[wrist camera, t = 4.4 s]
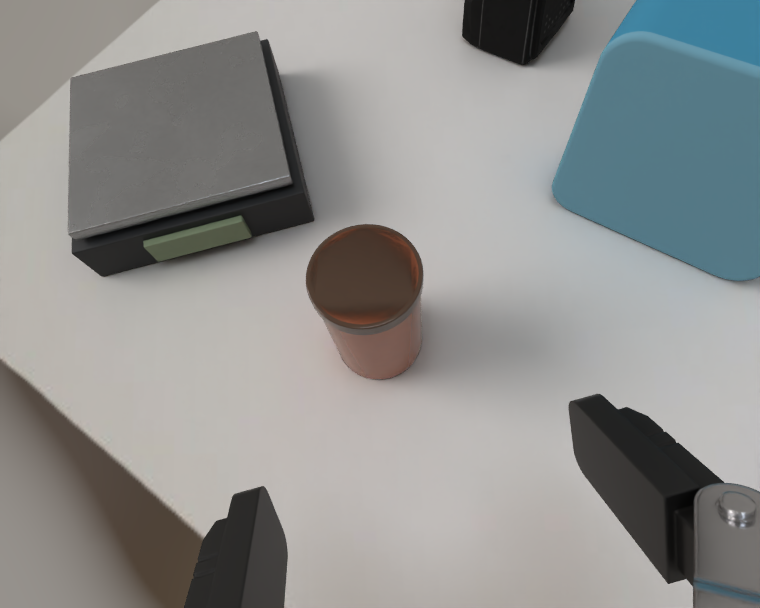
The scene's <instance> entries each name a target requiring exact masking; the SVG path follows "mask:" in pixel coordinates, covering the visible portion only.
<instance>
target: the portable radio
mask: <svg viewBox="0 0 760 608" xmlns="http://www.w3.org/2000/svg"><path fill="white" fill-rule="evenodd" d="M574 3H575V0H465V3H464V16H463V29H462V36H463V37H464V38H465V39H466V40H467V41H468V42H469V43H470V44H472V45H474V46H476V47H478V48H480V49H483V50H485V51H488V52H490V53H493V54H496V55H498V56H501V57H503V58H506V59H508V60H511V61H514V62H516V63H519V64H527V63H528V62H529V61H530V60H531V59H535V58H536V57H537V56H538V55H539V54H540V52H541V51H542V50H543V49H544V47H545V46H546V45H547V44H548V42H549V41H550V40H551V39H552V37H553V36H554V35H555V34H556V32H557V31H558V30H559V28H560V27H561V26H562V24H563V23H564V22H565V20H566V19H567V18H568V16H569V15H570V14H571V13H572V11H573V8H574Z"/></svg>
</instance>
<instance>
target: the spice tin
mask: <svg viewBox="0 0 760 608" xmlns="http://www.w3.org/2000/svg"><path fill="white" fill-rule="evenodd" d="M306 287H307V292H308V295H309V298H310V300H311V302H312V304H313V306H314V308H315V310H316V311H317V313H318V314H319V316H320V317H321V318H322V319H323V321H324V323H325V325H326V327H327V329H328V331H329V333H330V335H331V337H332V339H333V341H334V343H335V345H336V347H337V349H338V351H339V353H340V355H341V357H342V359H343V361H344V362H345V364H346V365H347V366H348V367H349V368H350V369H351V370H352V371H353V372H355V373H357V374H358V375H360V376H363V377H366V378H370V379H387V378H391V377H394V376H397V375H399V374H401V373H402V372H404V371H405V370H406V369H408V368H409V367H410V366H411V365H412V363H413V362H414V361H415V359H416V358H417V356H418V354H419V351H420V348H421V342H422V322H421V294H422V289H423V266H422V262H421V258H420V256H419V254H418V252H417V250H416V249H415V247H414V246H413V245H412V243H411V242H410V241H409V240H408V239H407V238H406V237H404V236H403V235H402V234H400V233H398V232H397V231H395V230H393V229H390V228H387V227H384V226H380V225H373V224H363V225H356V226H351V227H348V228H345V229H342V230H340V231H338V232H336V233H334V234H333V235H331V236H330V237H328V238H327V239H326V240H324V241H323V242H322V243H321V244H320V245H319V247H318V248H317V249H316V250H315V252H314V254H313V255H312V257H311V259H310V262H309V264H308V268H307V273H306Z"/></svg>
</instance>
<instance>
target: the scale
mask: <svg viewBox="0 0 760 608" xmlns="http://www.w3.org/2000/svg"><path fill="white" fill-rule="evenodd" d="M261 45H262V50H263V54H264V58H265V63H266V67H267V71H268V76H269V80H270V85H271V89H272V93H273V98H274V102H275V106H276V111H277V115H278V120H279V124H280V128H281V133H282V137H283V141H284V146H285V150H286V155H287V159H288V163H289V168H290V172H291V176H292V181H293V184H292V185H288V186H284V187H281V188H277V189H273V190H269V191H265V192H261V193H258V194H254V195H250V196H246V197H242V198H238V199H235V200H231V201H227V202H223V203H219V204H216V205H212V206H208V207H204V208H200V209H196V210H193V211H189V212H185V213H181V214H177V215H173V216H170V217H166V218H162V219H158V220H154V221H151V222H147V223H143V224H139V225H135V226H131V227H128V228H124V229H120V230H116V231H112V232H108V233H105V234H101V235H97V236H93V237H89V238H86V239H82V240H78V241H76V240H75V239H73V238H72V254H73V255H74V256H76V257H77V258H78V259H80V260H81V261H82V262H84V263H85V264H86V265H87V266H89V267H90V268H91V269H93V270H94V271H95V272H97V273H98V274H99V275H100V276H107V275H110V274H114V273H118V272H122V271H125V270H129V269H133V268H137V267H141V266H144V265H148V264H152V263H156V262H160V261H164V260H167V259H171V258H175V257H179V256H183V255H186V254H190V253H194V252H198V251H202V250H205V249H209V248H213V247H217V246H220V245H224V244H228V243H232V242H236V241H239V240H243V239H247V238H251V237H254V236H258V235H262V234H265V233H269V232H273V231H277V230H281V229H284V228H288V227H292V226H296V225H300V224H303V223H307V222H311V221H314V216H313V212H312V208H311V204H310V199H309V195H308V191H307V187H306V183H305V179H304V175H303V171H302V166H301V162H300V158H299V154H298V150H297V146H296V142H295V138H294V133H293V129H292V125H291V121H290V117H289V113H288V109H287V105H286V100H285V96H284V92H283V88H282V84H281V80H280V76H279V72H278V69H277V66H276V63H275V60H274V57H273V53H272V50H271V47H270V44H269V41H268V39H266V40H262V41H261Z"/></svg>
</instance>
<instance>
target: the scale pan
mask: <svg viewBox="0 0 760 608" xmlns="http://www.w3.org/2000/svg"><path fill="white" fill-rule="evenodd" d="M292 184H293V181H292V176H291V172H290V168H289V163H288V159H287V155H286V150H285V146H284V141H283V137H282V133H281V128H280V124H279V120H278V115H277V111H276V106H275V102H274V98H273V93H272V89H271V85H270V80H269V76H268V71H267V67H266V63H265V58H264V54H263V50H262V45H261V41H260V38H259V35H258V32H257V31H255V32H251V33H247V34H243V35H240V36H236V37H232V38H228V39H224V40H220V41H216V42H212V43H208V44H204V45H200V46H196V47H192V48H188V49H184V50H180V51H176V52H172V53H168V54H164V55H160V56H156V57H152V58H148V59H144V60H140V61H136V62H132V63H128V64H124V65H120V66H116V67H112V68H108V69H104V70H100V71H96V72H92V73H88V74H84V75H80V76H76V77H72V78H71V85H70V140H69V196H68V234H69V235H70V236H71V237H72V238H73V239H75V240H76V241H78V240H82V239H86V238H89V237H93V236H97V235H101V234H105V233H108V232H112V231H116V230H120V229H124V228H128V227H131V226H135V225H139V224H143V223H147V222H151V221H154V220H158V219H162V218H166V217H170V216H173V215H177V214H181V213H185V212H189V211H193V210H196V209H200V208H204V207H208V206H212V205H216V204H219V203H223V202H227V201H231V200H235V199H238V198H242V197H246V196H250V195H254V194H258V193H261V192H265V191H269V190H273V189H277V188H281V187H284V186H288V185H292Z"/></svg>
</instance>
